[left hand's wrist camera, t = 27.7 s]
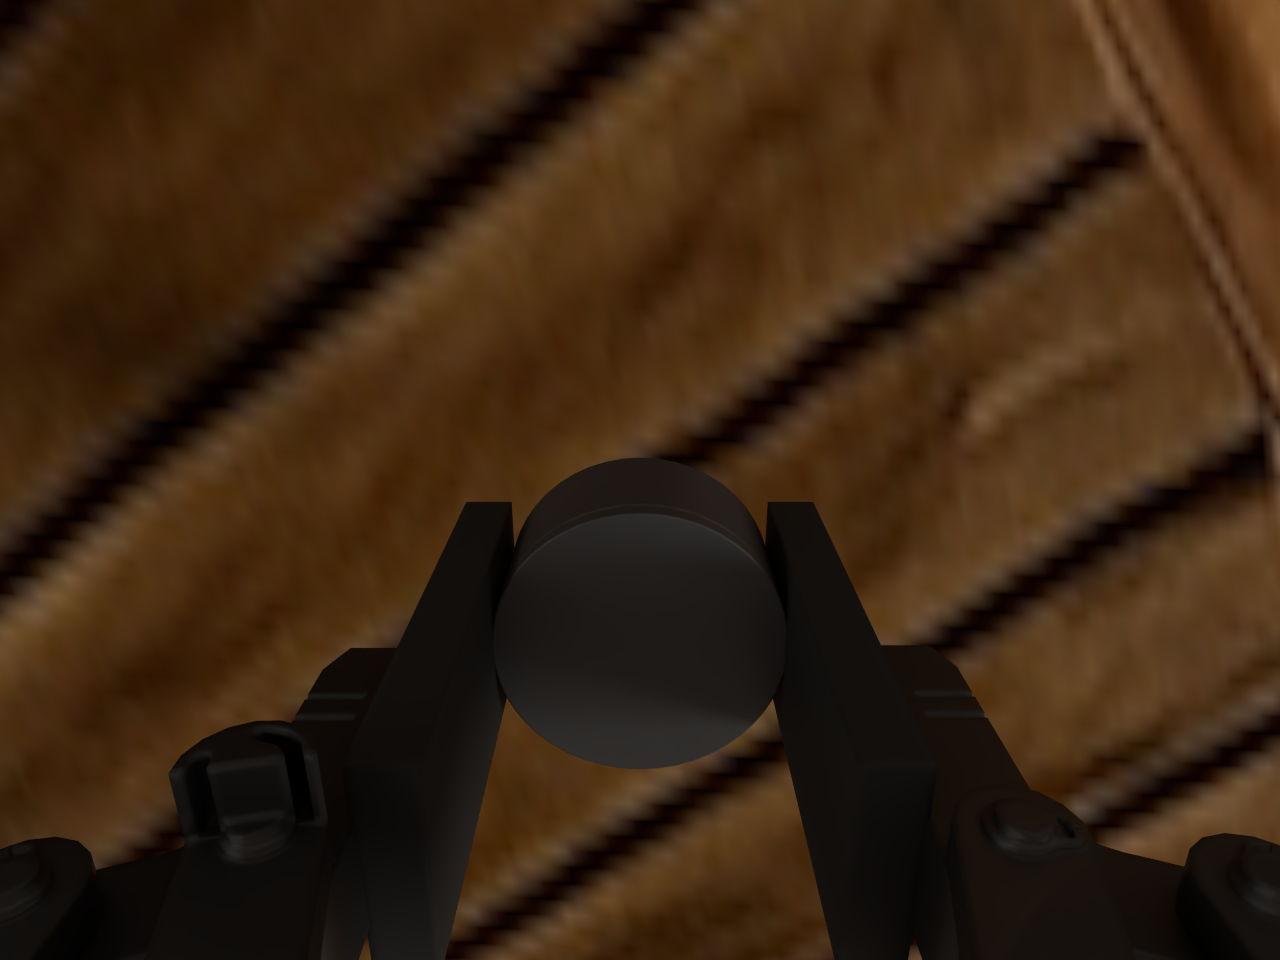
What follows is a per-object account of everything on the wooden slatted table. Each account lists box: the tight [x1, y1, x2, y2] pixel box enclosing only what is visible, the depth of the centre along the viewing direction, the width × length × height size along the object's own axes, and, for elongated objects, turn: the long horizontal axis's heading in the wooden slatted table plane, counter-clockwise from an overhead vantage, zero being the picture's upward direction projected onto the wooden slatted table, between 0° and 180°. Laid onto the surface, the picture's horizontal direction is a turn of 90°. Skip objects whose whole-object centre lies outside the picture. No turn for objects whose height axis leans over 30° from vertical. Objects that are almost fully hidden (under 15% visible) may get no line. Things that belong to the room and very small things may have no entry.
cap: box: [493, 458, 787, 769], centre depth 14 cm, size 4×4×2 cm
